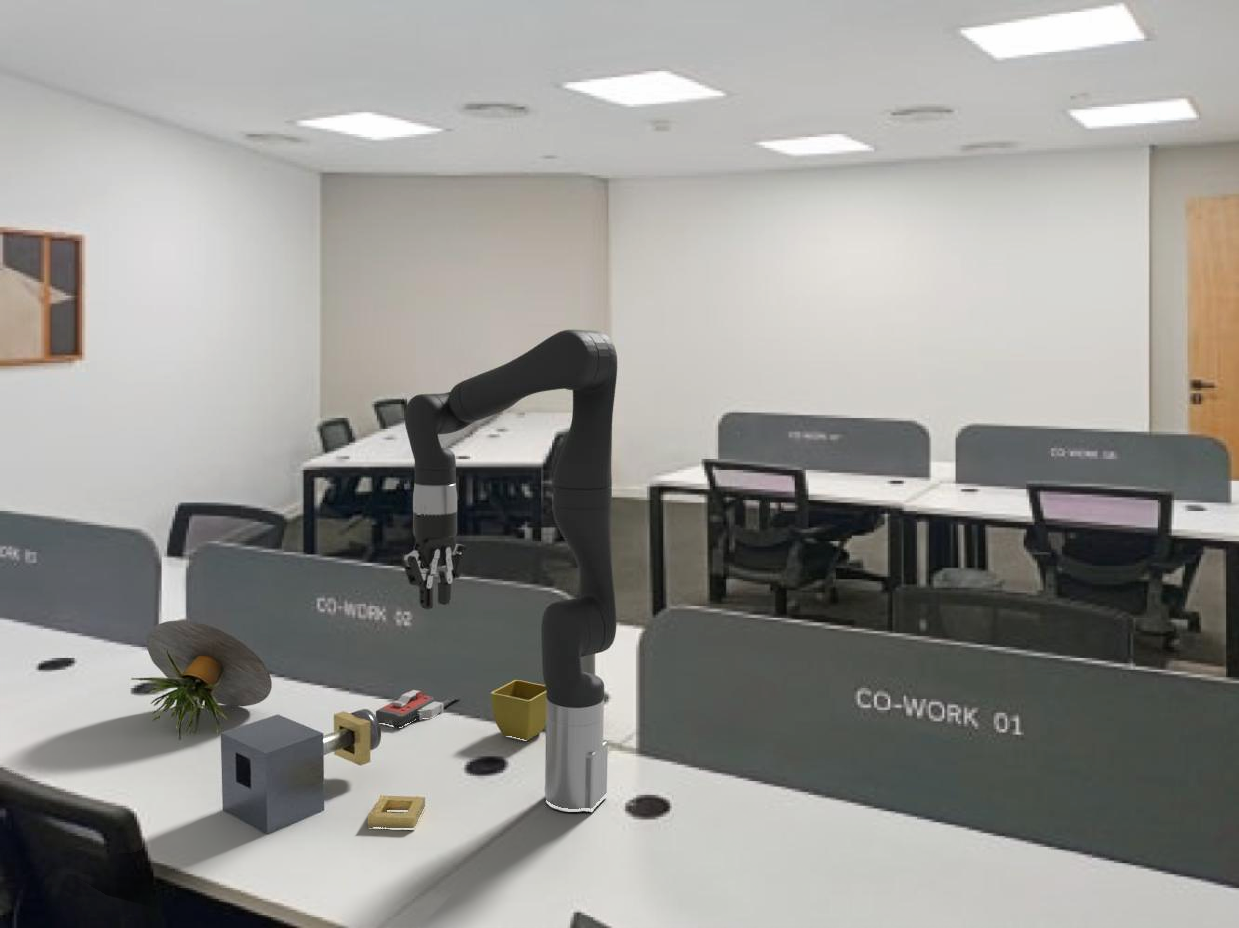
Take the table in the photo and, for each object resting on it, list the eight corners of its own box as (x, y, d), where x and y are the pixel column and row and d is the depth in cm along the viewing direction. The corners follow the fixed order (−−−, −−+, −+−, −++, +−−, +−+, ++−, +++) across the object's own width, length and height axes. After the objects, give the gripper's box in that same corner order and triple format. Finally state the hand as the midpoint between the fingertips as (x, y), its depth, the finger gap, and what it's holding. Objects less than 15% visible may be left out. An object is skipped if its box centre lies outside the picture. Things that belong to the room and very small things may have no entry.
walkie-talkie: (406, 735, 184) (465, 701, 202) (406, 712, 184) (465, 680, 202) (368, 727, 188) (430, 694, 206) (368, 704, 187) (430, 674, 205)
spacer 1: (343, 750, 167) (343, 711, 166) (370, 761, 163) (370, 721, 162) (334, 754, 166) (333, 714, 165) (360, 765, 161) (360, 724, 161)
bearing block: (279, 787, 160) (277, 714, 159) (324, 809, 153) (323, 733, 152) (222, 809, 153) (220, 732, 151) (267, 834, 145) (265, 753, 144)
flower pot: (489, 738, 182) (489, 692, 181) (515, 723, 190) (515, 678, 189) (528, 748, 178) (529, 701, 177) (554, 732, 186) (554, 686, 185)
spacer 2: (425, 809, 154) (425, 797, 154) (413, 831, 147) (413, 818, 147) (380, 807, 155) (380, 795, 154) (367, 829, 148) (367, 816, 147)
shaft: (354, 743, 169) (354, 704, 168) (381, 754, 165) (380, 714, 164) (249, 782, 153) (248, 739, 152) (276, 796, 149) (275, 751, 148)
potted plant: (134, 750, 191) (76, 687, 172) (183, 672, 202) (134, 605, 183) (248, 781, 185) (201, 719, 167) (292, 699, 196) (252, 633, 178)
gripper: (450, 502, 178) (450, 595, 180) (388, 511, 166) (389, 610, 169) (479, 506, 173) (479, 602, 175) (418, 516, 162) (418, 618, 164)
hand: (435, 605), depth 172 cm, fingers open, 3 cm apart
